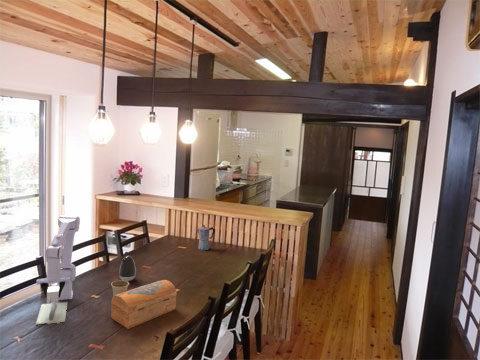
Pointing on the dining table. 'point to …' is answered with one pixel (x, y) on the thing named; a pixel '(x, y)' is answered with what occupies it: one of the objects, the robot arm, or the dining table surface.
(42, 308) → the rail plate
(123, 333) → the dining table surface
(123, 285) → the flower pot
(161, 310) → the wooden box
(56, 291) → the block
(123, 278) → the egg shaped speaker
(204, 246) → the moka pot
